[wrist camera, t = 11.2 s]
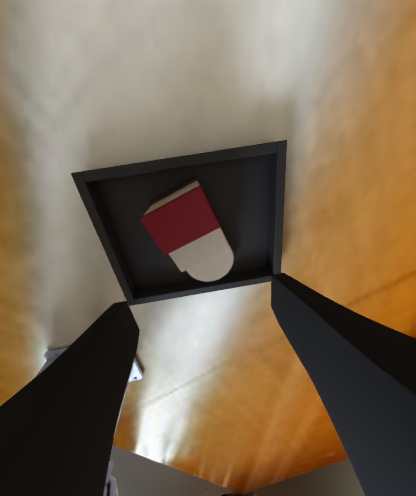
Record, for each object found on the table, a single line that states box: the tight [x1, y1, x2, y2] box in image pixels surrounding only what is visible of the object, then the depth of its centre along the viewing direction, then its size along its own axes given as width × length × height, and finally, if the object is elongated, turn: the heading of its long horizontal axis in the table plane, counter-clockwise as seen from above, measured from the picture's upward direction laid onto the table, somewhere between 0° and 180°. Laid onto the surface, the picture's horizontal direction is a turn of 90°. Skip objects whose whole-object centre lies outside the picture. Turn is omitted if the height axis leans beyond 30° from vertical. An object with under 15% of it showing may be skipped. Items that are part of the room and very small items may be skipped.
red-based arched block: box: [140, 176, 238, 282], centre depth 14 cm, size 8×4×5 cm, turn 26°
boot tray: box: [71, 140, 287, 306], centre depth 16 cm, size 15×12×2 cm
